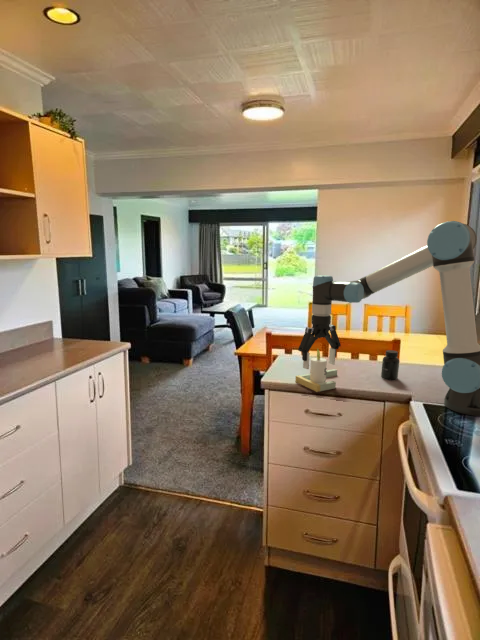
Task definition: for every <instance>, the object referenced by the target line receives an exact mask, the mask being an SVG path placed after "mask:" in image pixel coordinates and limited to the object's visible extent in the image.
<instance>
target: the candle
mask: <svg viewBox="0 0 480 640" xmlns="http://www.w3.org/2000/svg"><path fill="white" fill-rule="evenodd" d="M327 361H328V360H327V359H326V358H324V357H321V353H320V350H319V348H317V349H316V357H311V358H310V368H309V371H310V373H309V374H310V381H312V382H314V383H317V384H320V383H325V382H327V381H326V380H327V377H326V373H327V369H328V368H327Z"/></svg>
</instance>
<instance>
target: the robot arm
mask: <svg viewBox="0 0 480 640" xmlns="http://www.w3.org/2000/svg"><path fill="white" fill-rule="evenodd" d="M427 236H428V237H427V239H426V245H425V246H422V247H421V248H418V249H417V250H415V251H413V252H411V253H408V255H404V256H403V257H401V258H399V259H397V260H395V261H393V262H391V263H389V264H387V265H386V266H383V267H381V268H379V269H377V270H375V271H373V272H371V273H369V274H367V275H365V276H363V277H361V278H360V279H357V280H352V281H336V280H335V281H334V279H333V275H325V274H324V275H323V274H322V275H321V274H320V275H319V274H318V275H314V277H313V280H312V304H311V314H312V315H311V325H312V326H311V327H308V326H306V327H305V331H304V334H303V337H302V339H301V342H300V344H299V347H298V349H297V351H298V352H301V353H302V356H301V357H302V361H303V363H302V368H303V369H305V370H310V353H309V351H311V348H312V346H313V345H314V344H315V342H316V341H317V340H319V339H322V338H323V339H325V340H326V341H327V343H328V345H329V346H330V347H329V353H328V354H329V355H328V364H330V365H333V366H334V365H336V356H337V350H339V347H342V346H341V341H340V339H339V337H338V333H337V328H336V325H335V324H331V322H332V321H331V320H332V316H331V314H332V301H333V302H345V303H350V304H352V303H361V302H362V300H363V299H367V298H368V297H370V296H371V295H374V294H375V293H377V292H380V291H382V290H383V289H387V288H388V287H390V286H392V285H395V284H397V283H399V282H402V281H403V280H405V279H408V278H410V277H412V276H414V275H416V274H418V273H421V272H423V271H425V270H427V269H430V268H431V267H433V269H435V270H436V271H437V272H438V273H439V280H440V281H439V282H440V283H439V284H440V292H441V300H442V310H443V317H444V318H443V319H444V326H445V334H446V335H445V336H446V346H445V347H444V348H443V349H442V355H443V365H442V369H441V377H442V381H443V382H444V384H445V385H446V386H447V387H448V390H447V392H446V394H445V396H444V399H443V400H444V402H443V406H445V407H446V408H448V409H449V410H450V411H453V412H456V413H458V414H463V415H467V416H473V417H474V416H476V417H480V343H478V335H477V329H476V328H477V325H476V318H475V307H474V300H473V297H474V296H473V288H472V280H471V272H470V271H471V270H470V268H471V266H472V265H473V264H474V263H475V256H474V255H475V253H474V250H475V248H476V245H477V242H478V237H477V233H476V231H475V230H474V228H473V227H471V226H470V225H469V224H466V223H463V222H460V221H456V220H451V221H449V220H448V221H445V222H442V223H440V224H437V225H436V226H435V227H434V228H433V229H432V230H431V231H430V232H429V234H428V235H427Z"/></svg>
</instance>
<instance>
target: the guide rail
mask: <svg viewBox="0 0 480 640" xmlns="http://www.w3.org/2000/svg"><path fill="white" fill-rule="evenodd" d="M326 371H327V373H326V378H331V377H338V376H337V375H338V369H336V368H333V369H328V370H327V369H326ZM295 383H297V384H300V385H302V386H303V387H306V388H308V389H310V390H312V391H314V392H316V393H318V392H324V391H329V390H332V389H333V390H334V389H336V388H337V387H336V386H337V382H336V381H333V380H331V381H330V380H329V381H326V382H325V383H320V384H317V383H314V382H312V381H310V373H305V374H304V373H303V374H299V375H295Z"/></svg>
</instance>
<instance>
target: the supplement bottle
mask: <svg viewBox="0 0 480 640" xmlns="http://www.w3.org/2000/svg"><path fill="white" fill-rule="evenodd" d="M398 354H399V352H398V351H397V350H391V349H387V350H385V356H384V357H382V362H381V363H382V364H381V373H380V377H381V378H382V379H383V380H387V381H397V380H398V377H399V369H400V359H399V358H398ZM396 379H397V380H396Z"/></svg>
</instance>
